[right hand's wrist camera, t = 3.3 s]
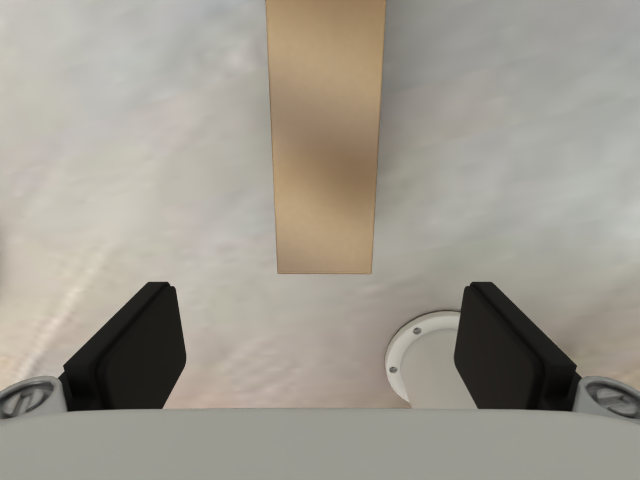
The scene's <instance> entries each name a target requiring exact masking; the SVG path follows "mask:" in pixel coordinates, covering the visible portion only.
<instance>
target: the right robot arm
mask: <svg viewBox="0 0 640 480" xmlns="http://www.w3.org/2000/svg"><path fill="white" fill-rule="evenodd" d="M185 364H186V351H185V344H184V338H183V332H182V326H181V319H180V313H179V307H178V300H177V294H176V289H175V287H174V286H170V284H169V283H168V282H148V283H147V284H146V285H145V286H144V287H143V288H142V289H140V290H139V291H138V292H137V293H136V294H135V295H134V296H133V297H132V298H131V299H130V300H129V301H128V302H127V303H126V304H125V305H124V306H123V307H122V308H121V309H120V310H119V311H118V312H117V313H116V314H115V315H114V316H113V317H112V318H111V319H110V320H109V321H108V322H107V323H106V324H105V325H104V326H103V327H102V328H101V329H100V330H99V331H98V332H97V333H96V334H95V335H94V336H93V337H92V338H91V339H90V340H89V341H88V342H87V343H86V344H85V345H84V346H83V347H82V348H81V349H80V350H79V351H78V352H77V353H75V354H74V355H73V356H72V357H71V358H70V359H69V360H68V361H67V362H66V363H65V364H64V365H63V367H64V370H65V371H64V372H63V373H62V374H61V375H60V376H59V378H55V377H53V376H40V377H33V378H30V379H26V380H23V381H20V382H18V383H16V384H13V385H11V386H9V387H7V388H6V389H4V390H2V391H0V480H640V391H638V390H636V389H634V388H633V387H631V386H629V385H627V384H624V383H622V382H620V381H617V380H614V379H610V378H607V377H600V376H587V377H585V378H581V376H580V375H579V374H578V373H577V372H576V371H575V370H576V367H577V365H576V364H575V363H574V362H573V361H572V360H571V359H570V358H569V357H568V356H567V355H566V354H564V353H563V352H562V351H561V350H560V349H559V348H558V347H557V346H556V345H555V344H554V343H553V342H552V341H551V340H550V339H549V338H548V337H547V336H546V335H545V334H544V333H543V332H542V331H541V330H540V329H539V328H538V327H537V326H536V325H535V324H534V323H533V322H532V321H531V320H530V319H529V318H528V317H527V316H526V315H525V314H524V313H523V312H522V311H521V310H520V309H519V308H518V307H517V306H516V305H515V304H514V303H513V302H512V301H511V300H510V299H509V298H508V297H507V296H506V295H505V294H504V293H503V292H502V291H501V290H500V289H498V288H497V287H496V286H495V285H494V284H493V283H492V282H472V283H471V284H470V286H466V287H465V289H464V294H463V300H462V307H461V313H460V312H453V311H440V312H435V313H429V314H427V315H424V316H421V317H418V318H416V319H415V320H413V321H411V322H409V323H408V324H407V325H405V326H404V327H403V328H401V329H400V330H399V331H398V333H397V334H396V335H395V336H394V337H393V339H392V341H391V342H390V344H389V346H388V349H387V352H386V356H385V369H386V374H387V378H388V381H389V383H390V385H391V387H392V389H393V390H394V391H395V392H396V393H397V394H398V395H399V396H400V397H401V398H402V399H404V400H405V401H407V402H409V403H410V405H411V408H218V409H162V408H163V406H164V404H165V403H166V401H167V399H168V397H169V395H170V393H171V391H172V389H173V388H174V386H175V384H176V382H177V380H178V378H179V376H180V374H181V373H182V371H183V369H184V367H185Z"/></svg>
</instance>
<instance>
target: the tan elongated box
mask: <svg viewBox="0 0 640 480" xmlns="http://www.w3.org/2000/svg"><path fill="white" fill-rule="evenodd" d="M385 14H386V0H266V22H267V44H268V67H269V89H270V112H271V134H272V157H273V180H274V202H275V225H276V247H277V270H278V274H371V273H372V255H373V236H374V217H375V199H376V180H377V162H378V143H379V125H380V106H381V88H382V69H383V51H384V32H385Z"/></svg>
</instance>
